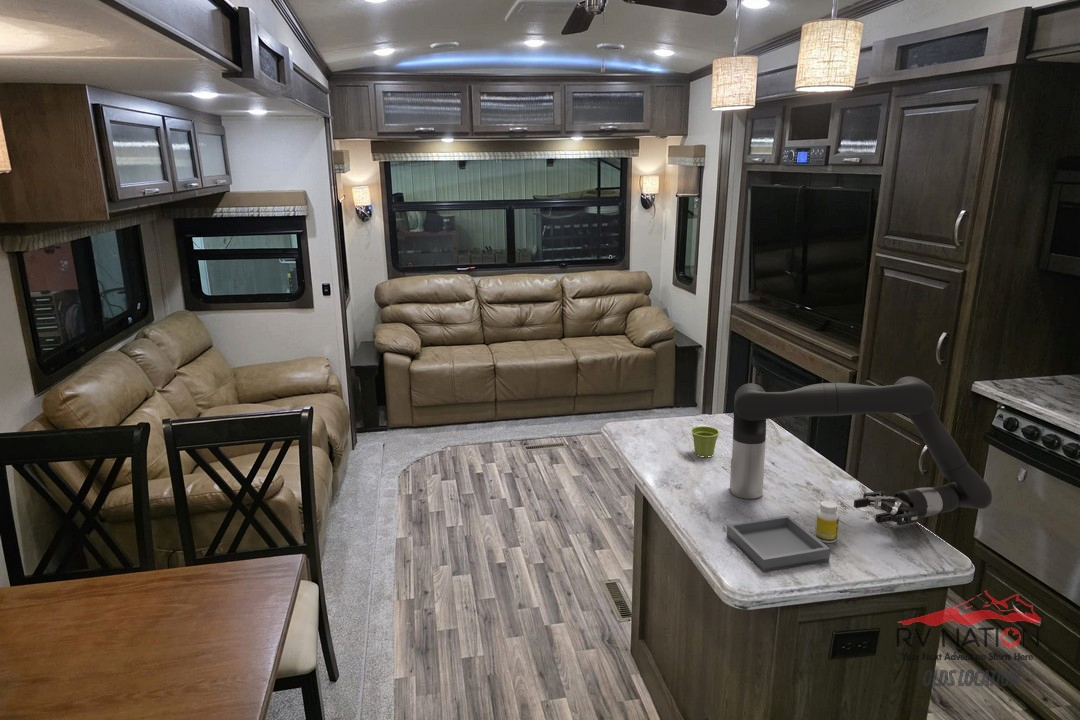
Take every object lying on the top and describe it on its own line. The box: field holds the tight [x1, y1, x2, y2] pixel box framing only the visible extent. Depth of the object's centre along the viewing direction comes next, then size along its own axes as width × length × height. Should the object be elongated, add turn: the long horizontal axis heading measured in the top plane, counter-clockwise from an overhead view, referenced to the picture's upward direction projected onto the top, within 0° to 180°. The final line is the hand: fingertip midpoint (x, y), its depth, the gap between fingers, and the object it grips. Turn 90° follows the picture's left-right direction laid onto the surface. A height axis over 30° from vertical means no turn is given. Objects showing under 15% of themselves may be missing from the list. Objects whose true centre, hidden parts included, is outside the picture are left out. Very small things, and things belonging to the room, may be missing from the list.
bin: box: [726, 514, 831, 573], centre depth 177 cm, size 18×18×4 cm
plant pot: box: [690, 425, 720, 458], centre depth 236 cm, size 9×9×9 cm
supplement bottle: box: [814, 500, 840, 544], centre depth 180 cm, size 5×5×10 cm
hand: (865, 511), depth 182 cm, fingers open, 8 cm apart
